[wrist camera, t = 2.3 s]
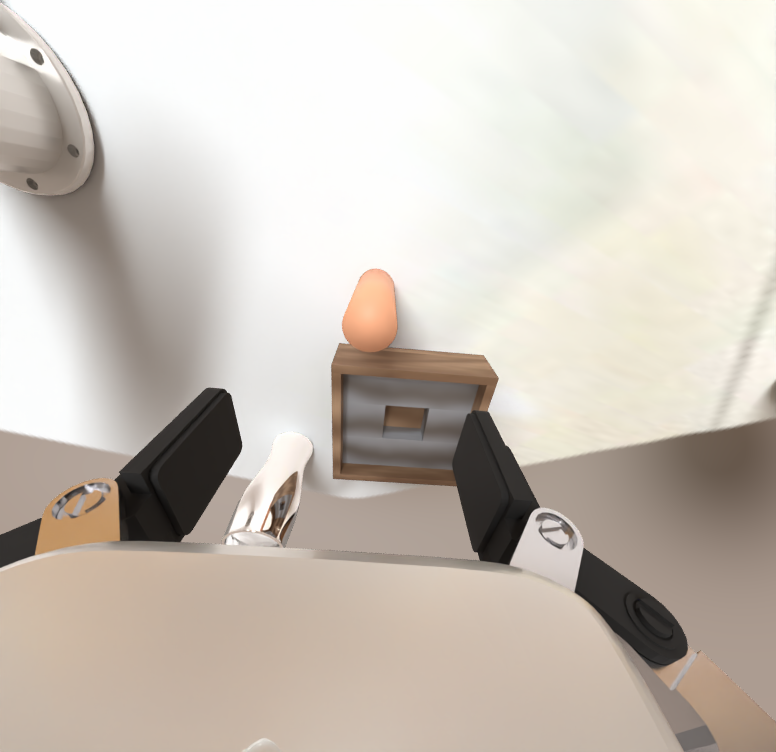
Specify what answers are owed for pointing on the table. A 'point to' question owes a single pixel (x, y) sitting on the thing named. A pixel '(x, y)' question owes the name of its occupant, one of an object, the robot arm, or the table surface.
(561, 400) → the table surface
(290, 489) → the beer glass
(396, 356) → the bore box
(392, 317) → the peg
